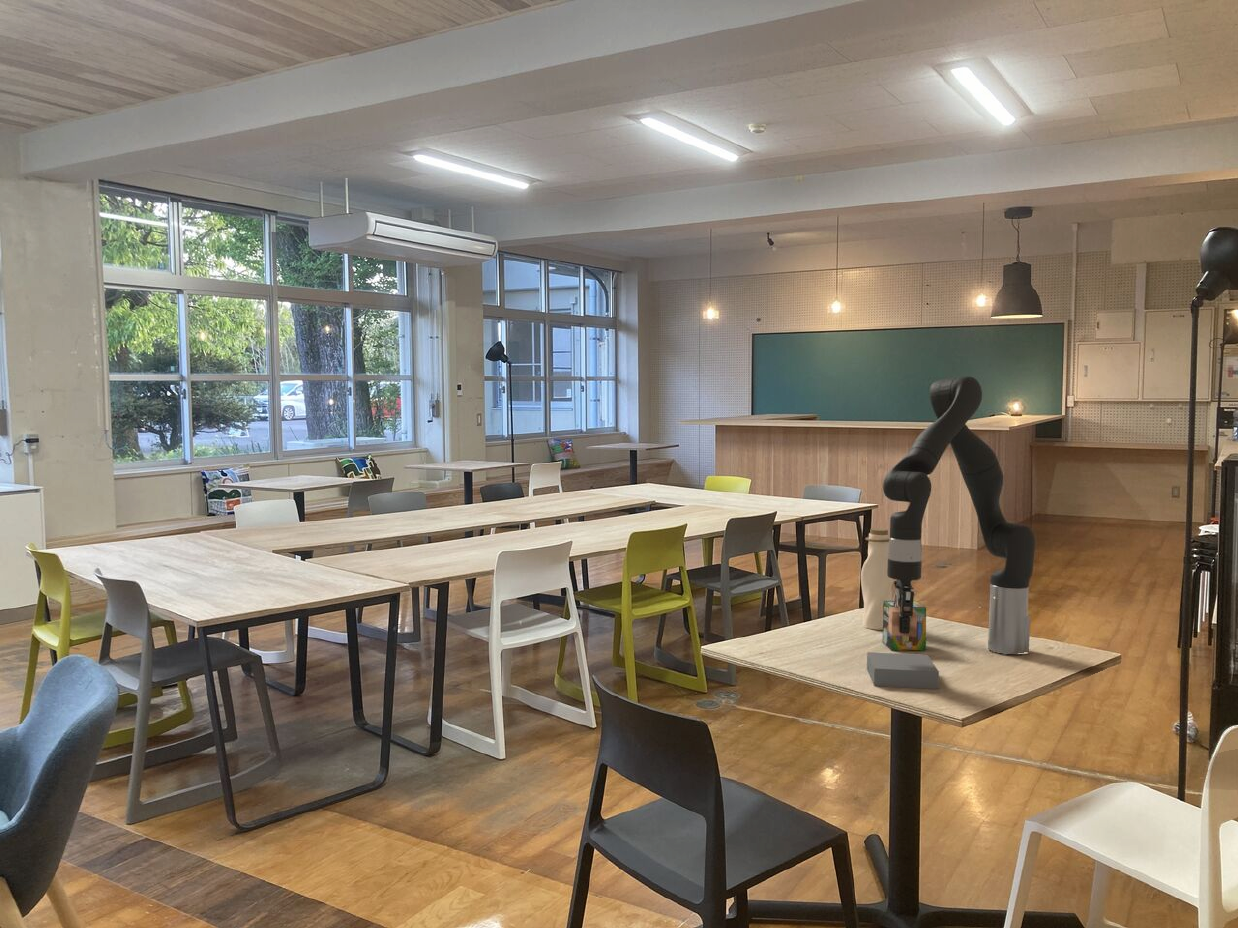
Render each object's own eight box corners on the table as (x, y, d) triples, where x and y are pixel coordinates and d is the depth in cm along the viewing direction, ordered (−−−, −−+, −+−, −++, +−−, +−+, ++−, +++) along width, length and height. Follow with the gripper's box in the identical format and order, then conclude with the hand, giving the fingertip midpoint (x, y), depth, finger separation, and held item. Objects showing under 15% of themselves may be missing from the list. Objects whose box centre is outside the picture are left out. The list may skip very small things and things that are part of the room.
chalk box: (926, 651, 244) (928, 594, 243) (890, 650, 244) (892, 594, 243) (915, 642, 253) (917, 587, 252) (881, 641, 253) (882, 587, 252)
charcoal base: (927, 671, 226) (927, 654, 225) (938, 688, 212) (938, 671, 212) (866, 668, 228) (867, 652, 227) (873, 685, 214) (874, 668, 214)
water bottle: (870, 620, 278) (872, 525, 276) (899, 625, 272) (902, 528, 270) (854, 626, 270) (857, 529, 268) (884, 631, 264) (887, 532, 262)
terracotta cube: (912, 630, 221) (913, 607, 221) (916, 636, 216) (917, 612, 216) (888, 629, 222) (889, 606, 222) (891, 635, 217) (892, 611, 216)
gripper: (927, 563, 210) (924, 638, 211) (916, 553, 224) (913, 623, 226) (892, 562, 211) (889, 636, 212) (883, 552, 226) (881, 622, 227)
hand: (902, 629), depth 219 cm, fingers closed on terracotta cube, 5 cm apart
